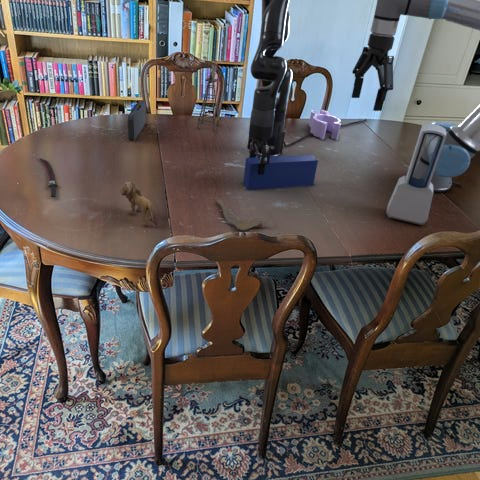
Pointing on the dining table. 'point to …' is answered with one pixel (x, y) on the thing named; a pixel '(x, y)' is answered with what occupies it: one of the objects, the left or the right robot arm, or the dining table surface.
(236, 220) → the jawbone
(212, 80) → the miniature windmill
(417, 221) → the electronic device
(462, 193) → the dining table surface
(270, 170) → the bar
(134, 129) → the handheld gaming console
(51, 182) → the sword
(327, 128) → the clip
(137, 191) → the lion figurine
